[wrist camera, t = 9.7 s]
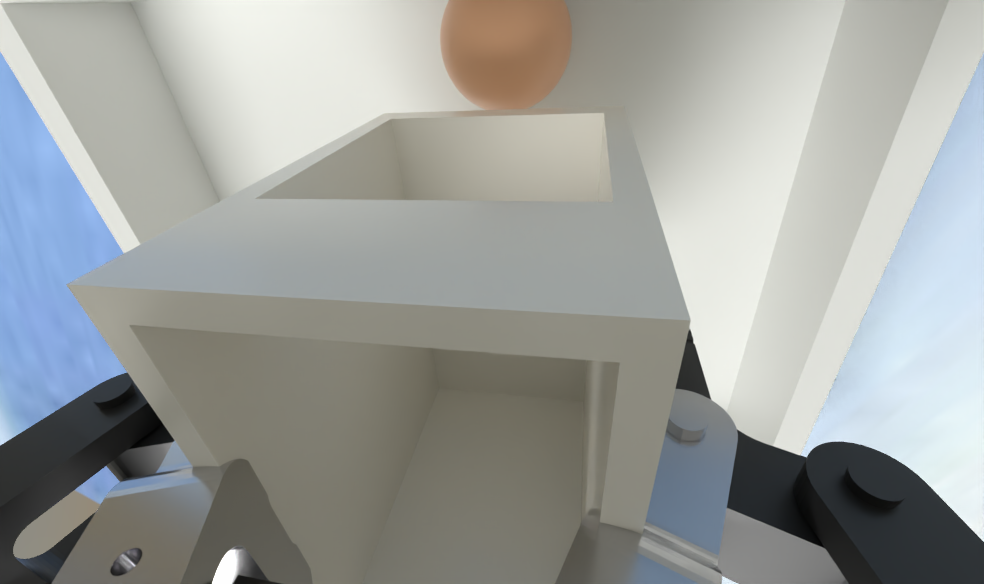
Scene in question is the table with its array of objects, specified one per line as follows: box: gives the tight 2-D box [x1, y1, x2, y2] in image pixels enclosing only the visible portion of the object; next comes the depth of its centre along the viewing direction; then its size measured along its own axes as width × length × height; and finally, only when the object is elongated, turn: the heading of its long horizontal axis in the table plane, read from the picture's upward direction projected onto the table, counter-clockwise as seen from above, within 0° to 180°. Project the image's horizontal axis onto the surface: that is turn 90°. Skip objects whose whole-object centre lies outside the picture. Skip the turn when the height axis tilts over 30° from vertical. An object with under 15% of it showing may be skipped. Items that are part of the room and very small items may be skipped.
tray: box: [0, 0, 984, 455], centre depth 15 cm, size 20×20×4 cm
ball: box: [440, 0, 572, 110], centre depth 10 cm, size 3×3×3 cm
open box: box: [66, 106, 691, 584], centre depth 8 cm, size 5×8×7 cm, turn 4°
